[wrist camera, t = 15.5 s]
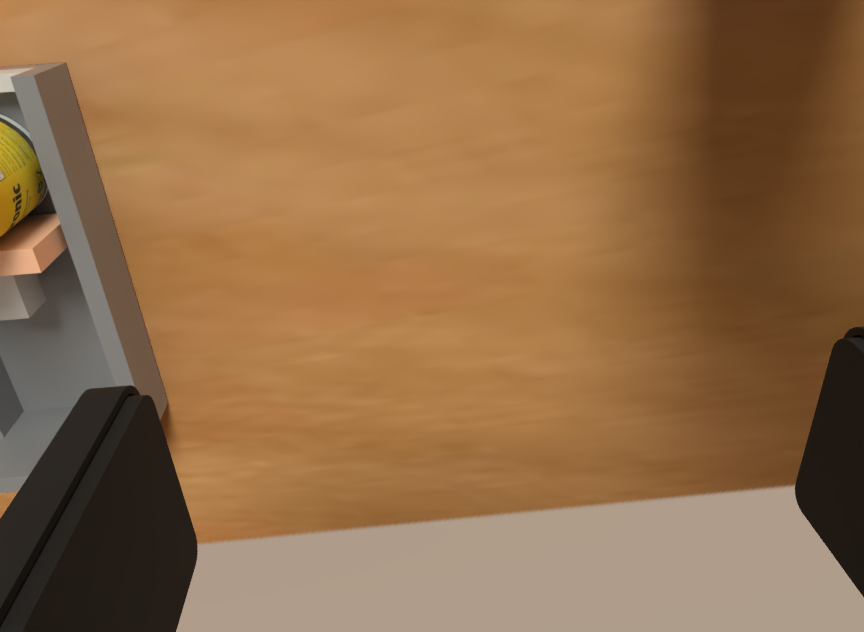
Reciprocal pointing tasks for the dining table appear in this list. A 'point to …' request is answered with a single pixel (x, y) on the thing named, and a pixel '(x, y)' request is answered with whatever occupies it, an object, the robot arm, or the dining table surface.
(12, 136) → the supplement bottle
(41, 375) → the pusher lane
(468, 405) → the dining table surface
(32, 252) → the spring paddle
